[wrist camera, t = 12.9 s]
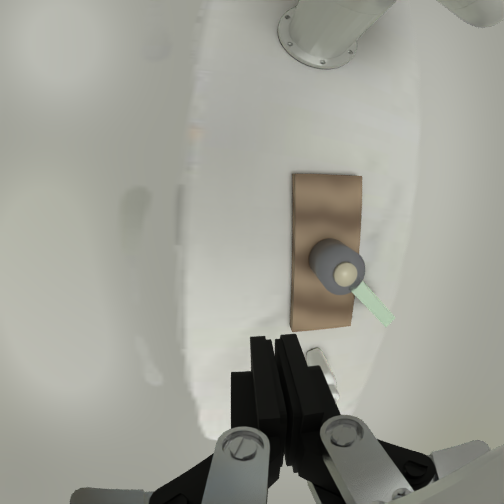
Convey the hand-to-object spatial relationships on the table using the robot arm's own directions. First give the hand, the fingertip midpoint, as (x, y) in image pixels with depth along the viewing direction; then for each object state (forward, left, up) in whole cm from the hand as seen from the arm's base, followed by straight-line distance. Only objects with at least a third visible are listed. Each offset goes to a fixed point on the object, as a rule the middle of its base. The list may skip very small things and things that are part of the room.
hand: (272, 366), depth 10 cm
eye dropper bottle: (+25, +12, -31) cm, 42 cm away
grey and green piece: (+8, +15, -29) cm, 33 cm away
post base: (+5, +12, -31) cm, 34 cm away
